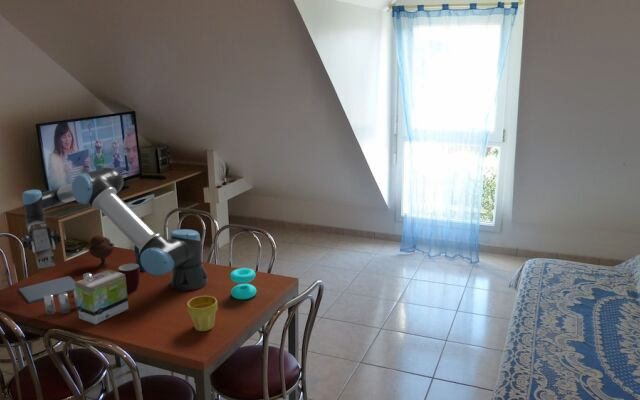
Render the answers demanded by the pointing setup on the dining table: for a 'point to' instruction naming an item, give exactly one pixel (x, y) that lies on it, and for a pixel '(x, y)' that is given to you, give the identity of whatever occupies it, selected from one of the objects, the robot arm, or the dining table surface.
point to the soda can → (138, 258)
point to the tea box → (101, 296)
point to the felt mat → (48, 289)
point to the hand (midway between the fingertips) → (44, 247)
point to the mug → (131, 275)
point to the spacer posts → (61, 300)
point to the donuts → (243, 289)
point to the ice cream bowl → (101, 249)
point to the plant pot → (203, 312)
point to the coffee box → (43, 245)
